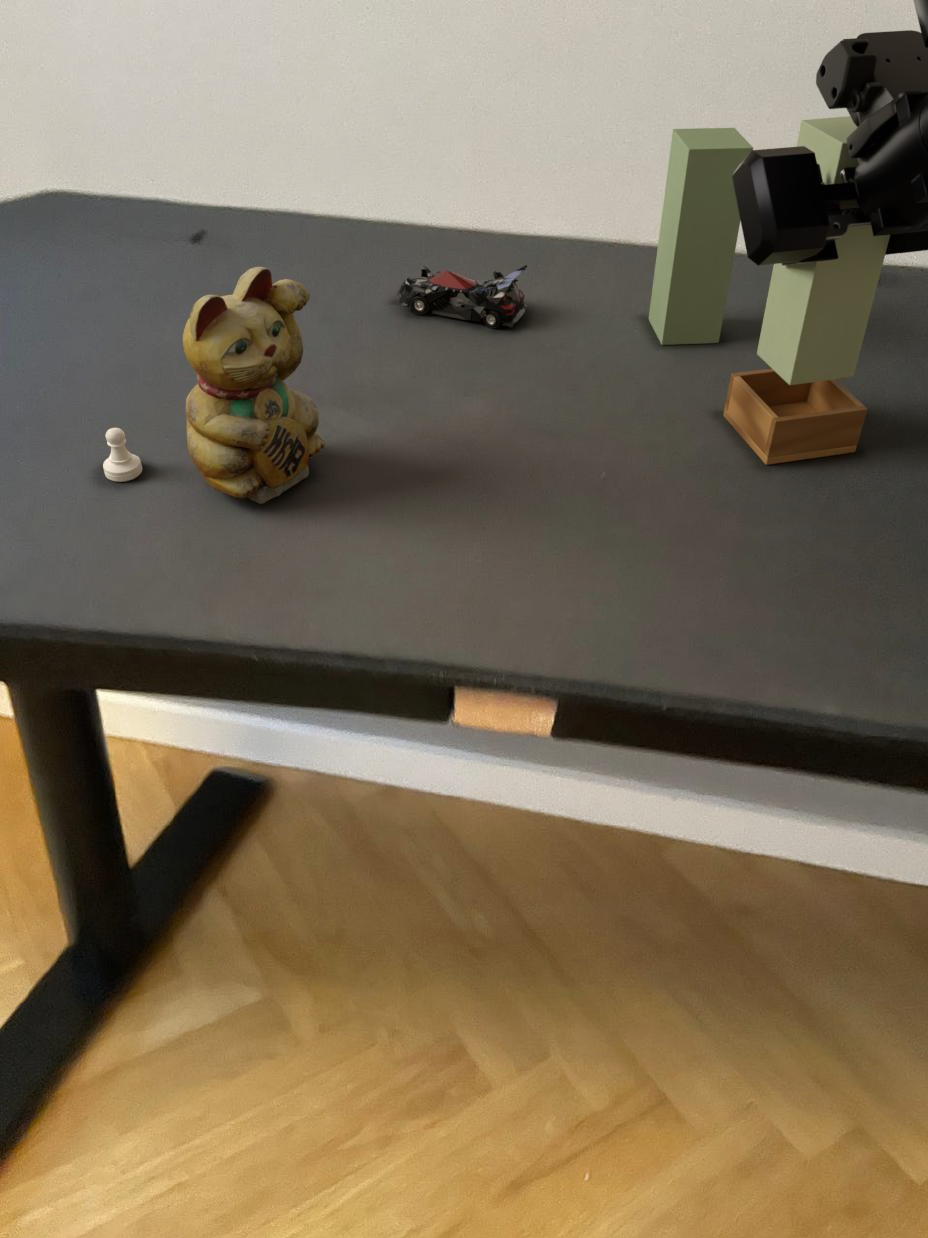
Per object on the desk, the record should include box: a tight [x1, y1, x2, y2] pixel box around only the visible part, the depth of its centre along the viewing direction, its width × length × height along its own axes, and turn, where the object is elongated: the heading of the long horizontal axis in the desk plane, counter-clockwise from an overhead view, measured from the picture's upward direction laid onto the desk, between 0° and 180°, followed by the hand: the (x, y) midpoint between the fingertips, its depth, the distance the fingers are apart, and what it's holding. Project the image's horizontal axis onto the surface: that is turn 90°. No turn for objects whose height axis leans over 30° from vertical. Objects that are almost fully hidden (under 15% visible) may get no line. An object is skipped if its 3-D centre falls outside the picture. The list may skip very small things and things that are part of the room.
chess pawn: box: [102, 427, 143, 483], centre depth 74 cm, size 3×3×4 cm
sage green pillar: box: [756, 115, 890, 385], centre depth 71 cm, size 5×5×16 cm
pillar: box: [648, 127, 754, 346], centre depth 88 cm, size 5×5×16 cm
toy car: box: [396, 264, 529, 329], centre depth 94 cm, size 6×12×4 cm, turn 68°
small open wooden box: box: [722, 368, 868, 466], centre depth 79 cm, size 7×7×4 cm
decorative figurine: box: [181, 266, 326, 505], centre depth 70 cm, size 10×8×15 cm
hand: (818, 254), depth 72 cm, fingers closed on sage green pillar, 5 cm apart
